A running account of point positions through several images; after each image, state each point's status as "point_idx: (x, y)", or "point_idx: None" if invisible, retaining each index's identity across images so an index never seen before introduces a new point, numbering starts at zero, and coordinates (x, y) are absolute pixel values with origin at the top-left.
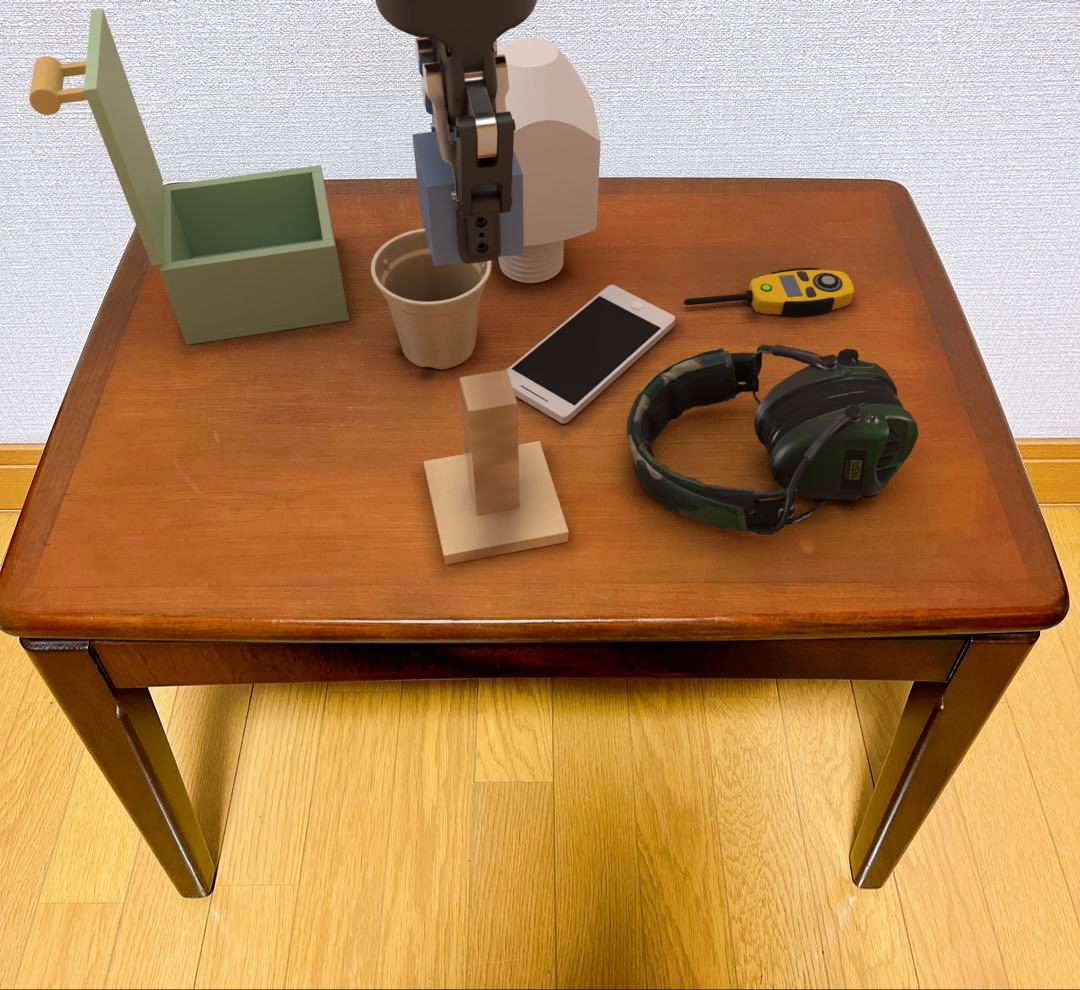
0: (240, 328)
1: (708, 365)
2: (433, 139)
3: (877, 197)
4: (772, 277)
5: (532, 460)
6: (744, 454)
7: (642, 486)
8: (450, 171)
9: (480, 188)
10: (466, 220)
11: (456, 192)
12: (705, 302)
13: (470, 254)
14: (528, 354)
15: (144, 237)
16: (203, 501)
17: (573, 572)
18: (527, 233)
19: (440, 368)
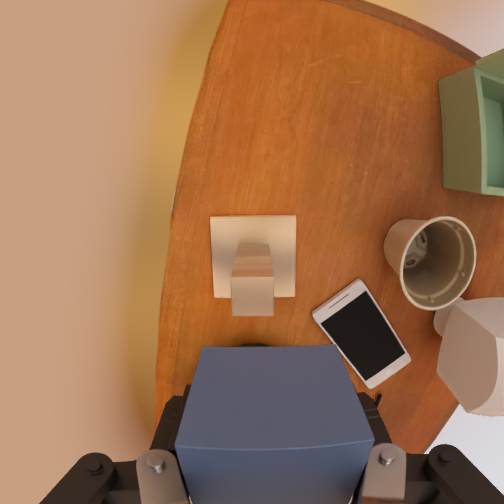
0: (444, 114)
1: None
2: (338, 467)
3: None
4: None
5: (278, 289)
6: None
7: (242, 345)
8: (183, 489)
9: (117, 501)
10: (163, 440)
11: (137, 474)
12: (375, 403)
13: (167, 404)
14: (374, 303)
15: (490, 56)
16: (300, 68)
17: (192, 291)
18: (450, 333)
19: (384, 242)
